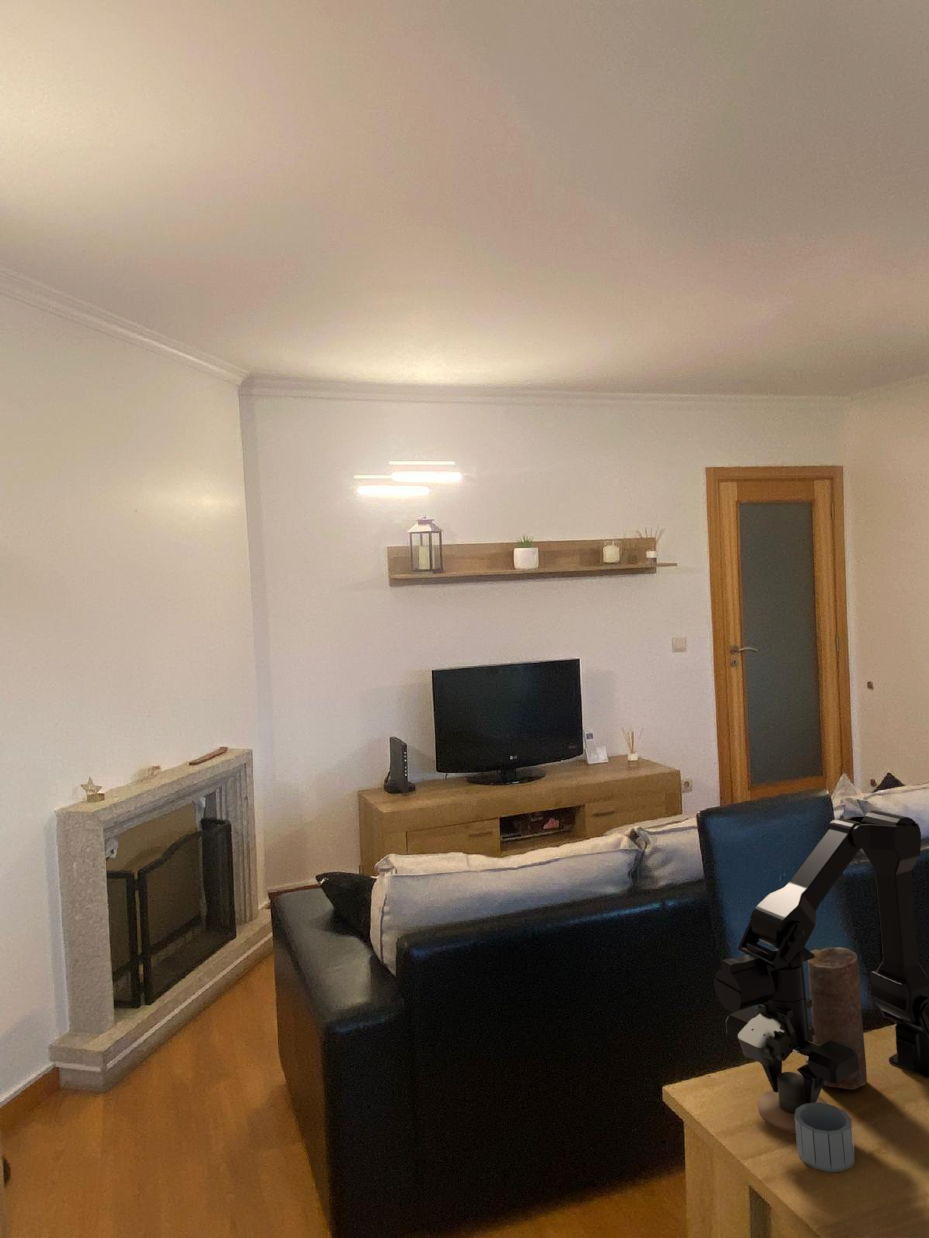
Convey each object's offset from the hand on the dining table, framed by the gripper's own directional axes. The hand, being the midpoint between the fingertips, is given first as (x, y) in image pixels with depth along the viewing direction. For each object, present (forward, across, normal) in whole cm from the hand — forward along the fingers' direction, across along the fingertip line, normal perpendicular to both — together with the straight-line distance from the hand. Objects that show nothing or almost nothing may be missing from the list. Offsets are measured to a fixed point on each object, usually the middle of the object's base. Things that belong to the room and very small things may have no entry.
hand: (793, 1099), depth 123 cm
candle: (+2, 0, +12) cm, 12 cm away
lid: (+2, 0, 0) cm, 2 cm away
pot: (+2, +8, -5) cm, 10 cm away
